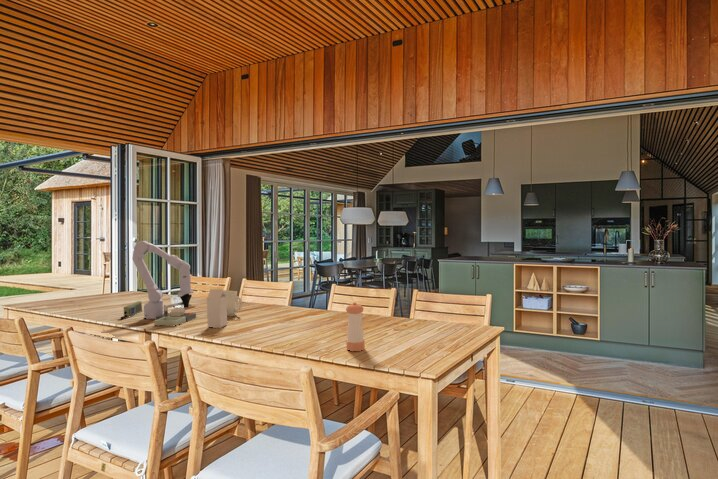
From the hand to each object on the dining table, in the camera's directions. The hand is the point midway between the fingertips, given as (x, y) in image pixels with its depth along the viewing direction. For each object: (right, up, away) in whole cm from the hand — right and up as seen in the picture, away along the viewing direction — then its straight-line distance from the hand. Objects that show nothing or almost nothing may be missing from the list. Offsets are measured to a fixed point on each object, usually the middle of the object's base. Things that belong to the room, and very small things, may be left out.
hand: (186, 307), depth 265 cm
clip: (-5, -2, -3) cm, 6 cm away
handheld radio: (-33, -6, +4) cm, 34 cm away
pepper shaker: (+98, -6, -77) cm, 125 cm away
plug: (-1, -5, -10) cm, 11 cm away
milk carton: (+27, -6, -29) cm, 40 cm away
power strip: (-2, -5, -10) cm, 11 cm away
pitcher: (+25, -4, -1) cm, 26 cm away
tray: (0, -6, -22) cm, 22 cm away
